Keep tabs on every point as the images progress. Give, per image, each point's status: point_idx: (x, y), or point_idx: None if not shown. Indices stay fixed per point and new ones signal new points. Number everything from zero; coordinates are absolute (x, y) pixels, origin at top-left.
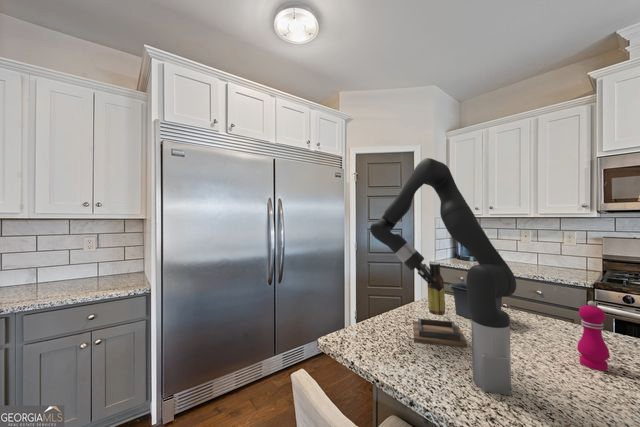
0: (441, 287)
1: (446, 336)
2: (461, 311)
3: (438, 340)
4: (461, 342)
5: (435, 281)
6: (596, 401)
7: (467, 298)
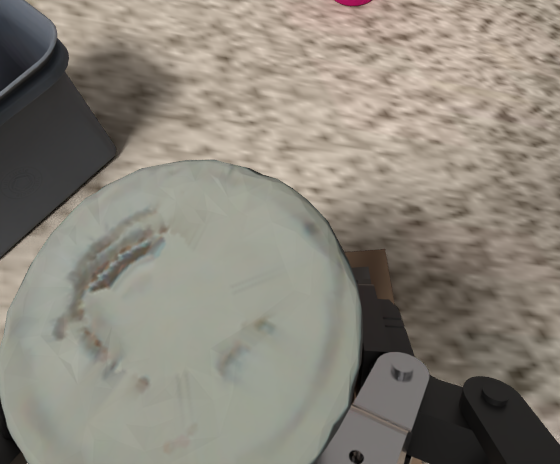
0: (372, 292)
1: None
2: (3, 234)
3: None
4: (381, 269)
5: (388, 352)
6: (550, 30)
7: None
